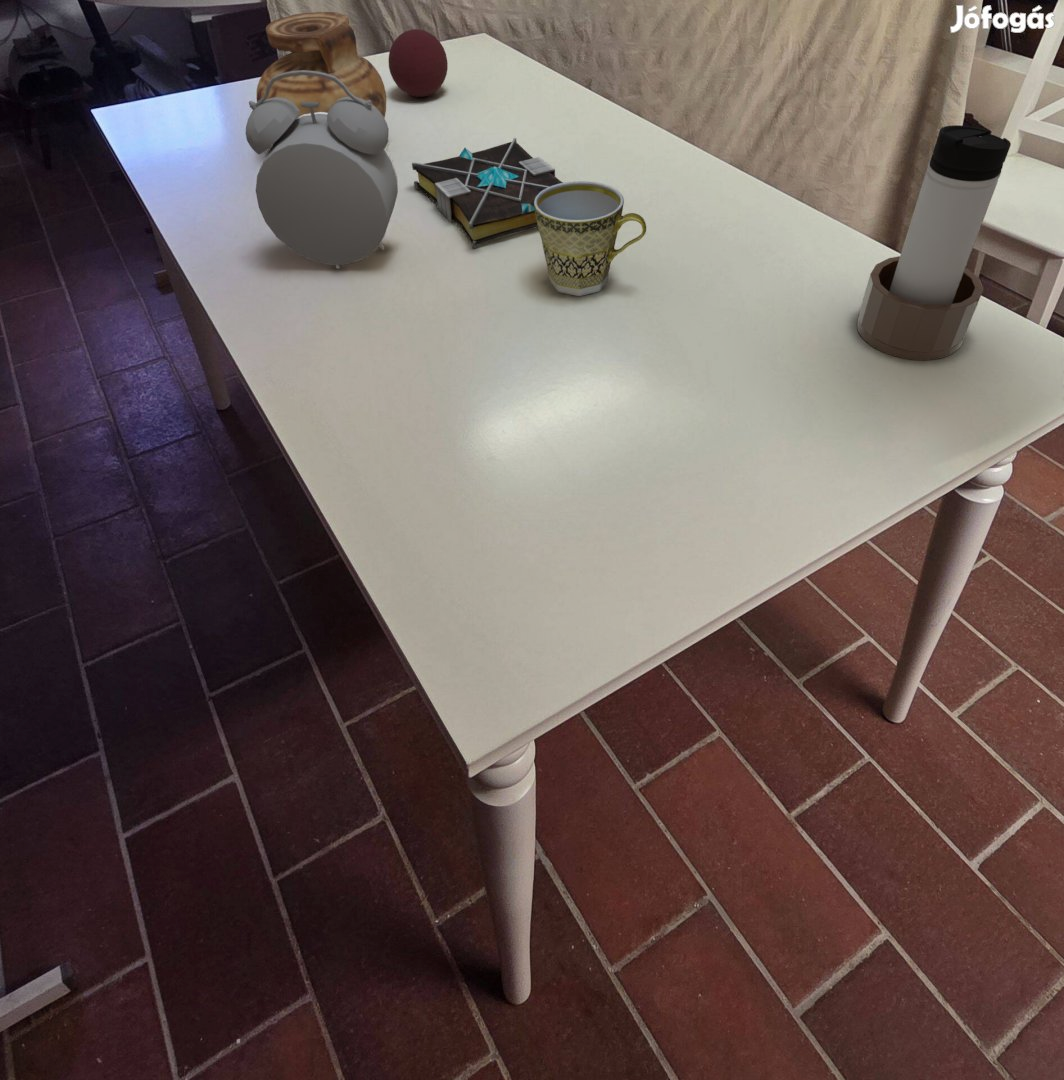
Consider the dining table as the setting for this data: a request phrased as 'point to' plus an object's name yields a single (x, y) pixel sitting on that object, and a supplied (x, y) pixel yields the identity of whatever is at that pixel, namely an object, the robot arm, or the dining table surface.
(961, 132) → the travel mug
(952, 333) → the holder
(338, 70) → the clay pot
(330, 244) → the alarm clock
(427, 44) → the decorative ball
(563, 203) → the ceramic cup
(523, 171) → the book
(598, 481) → the dining table surface
